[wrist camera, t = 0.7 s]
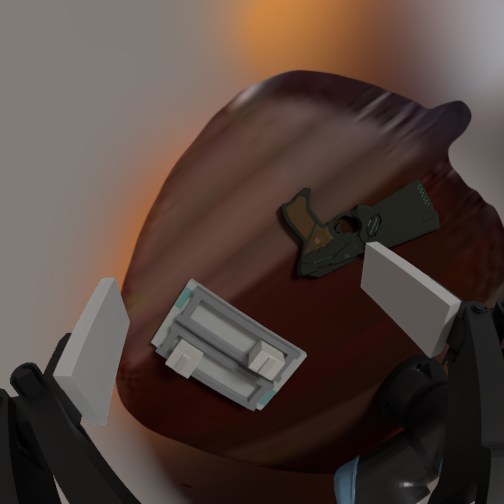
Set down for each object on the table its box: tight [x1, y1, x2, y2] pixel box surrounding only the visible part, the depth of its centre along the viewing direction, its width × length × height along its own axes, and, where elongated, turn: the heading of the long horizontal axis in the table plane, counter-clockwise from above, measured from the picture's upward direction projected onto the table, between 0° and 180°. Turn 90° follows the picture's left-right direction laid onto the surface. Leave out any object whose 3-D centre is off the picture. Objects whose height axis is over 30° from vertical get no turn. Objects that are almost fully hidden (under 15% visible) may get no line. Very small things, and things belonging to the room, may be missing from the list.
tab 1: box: [165, 338, 204, 379], centre depth 39 cm, size 4×3×6 cm
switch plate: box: [151, 279, 307, 411], centre depth 42 cm, size 22×13×3 cm, turn 56°
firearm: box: [281, 179, 440, 277], centre depth 42 cm, size 28×2×15 cm
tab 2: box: [248, 338, 285, 380], centre depth 39 cm, size 4×3×6 cm
